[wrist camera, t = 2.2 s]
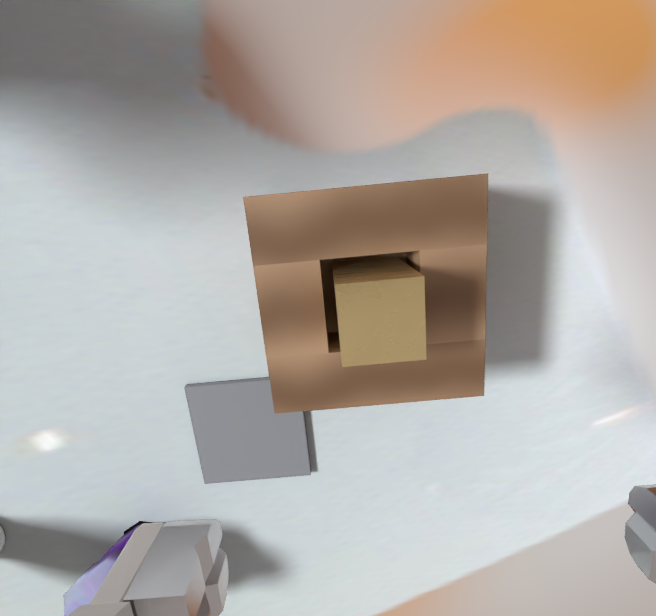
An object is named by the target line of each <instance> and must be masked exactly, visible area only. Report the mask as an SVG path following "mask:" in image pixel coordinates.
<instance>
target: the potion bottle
mask: <svg viewBox="0 0 656 616" xmlns="http://www.w3.org/2000/svg"><path fill="white" fill-rule="evenodd" d="M143 523H151V522H142V521H139V522H138V523H136V524H135V525H133V526H132V527H130V528H129V529H127V530H126V531H125V532H124V535H123V536H122V537H121V538H120V539H119V541H118V542H117V543H116V544H115V545H114V546H113V547H112V548H111V549H110V550H109V551H108V552H107V553H106V554H105V555H104V556H103V557H102V558H101V559H100V560H99V561H98V562H96V563H95V564H93V565H92V566H91V567H90V568H89V569H88V570H87V571H86V572H85V573H84V574H83V575H82V576H81V577H80V578H79V579H78V580H77V581H76V582H75V583H74V584H73V585H72V587H71V588H70V589H69V590H68V591H67V592H66V593H65V594H64V616H68V615H69V614H70V613H72V612H73V611H74V610H75V609H77V608H78V607H79V606H80V605H88V604H90V602H91V601H92V599H93V598H94V596H95V594H96V593H97V591H98V589H99V588H100V586H101V584H102V583H103V581H104V580H105V578H106V576H107V575H108V573H109V571H110V570H111V568H112V567H113V565H114V563H115V562H116V560H117V558H118V557H119V555H120V553H121V552H122V550H123V549H124V547H125V545H126V544H127V542H128V540H129V539H130V537H131V536H132V534H133V532H134V531H135V529H136V528H137V527H139V526H140V525H141V524H143Z"/></svg>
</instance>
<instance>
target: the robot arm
mask: <svg viewBox="0 0 656 616" xmlns="http://www.w3.org/2000/svg"><path fill="white" fill-rule="evenodd" d="M628 504H629V506H630V507H631V508H632V509H633V511H634V512H635V513H634V514H633V515H632V516H631V517H630V519H629V520H628V521H627V522H626V527H625V540H626V543H627V546H628V549H629V552H630V554H631V556H632V557H633V559H634V561H635V563H636V564H637V566H638V567H639V568H640V569H641V571H642V572H643V573H644V574H645V575H646V577H647V578H648V579H649V580H651V581H653V582H654V583H656V484H653V485H642V486H634V488H633V489H632V490H631V491H630V493H629V500H628ZM222 536H223V534H222V529H221V525H220V521H218V520H216V519H207V520H188V521H169V522H162V523H143V524H141V525H140V526H139V527H137V528H136V529H135V531H134V532H133V534H132V536H131V537H130V539H129V540H128V542H127V544H126V545H125V547H124V549H123V550H122V552H121V553H120V555H119V557H118V558H117V560H116V562H115V563H114V565H113V567H112V568H111V570H110V571H109V573H108V575H107V576H106V578H105V580H104V581H103V583H102V584H101V586H100V588H99V589H98V591H97V593H96V594H95V596H94V598H93V599H92V601H91V602H90V604H88V605H80V606H79V607H78V608H77V609H75V610H74V611H73V612H72V613H70V614H69V615H68V616H219V615H220V613H221V612H222V611H223V608H224V604H225V600H226V596H227V588H228V578H229V572H228V560H227V554H226V553H225V552H224V551H223V550H222V549H221V548H220V547H219V545H220V542H221V539H222Z"/></svg>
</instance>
